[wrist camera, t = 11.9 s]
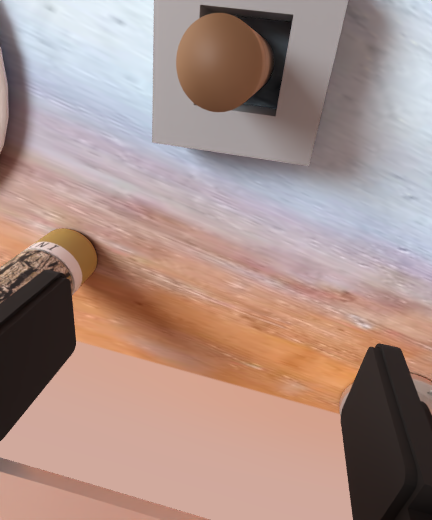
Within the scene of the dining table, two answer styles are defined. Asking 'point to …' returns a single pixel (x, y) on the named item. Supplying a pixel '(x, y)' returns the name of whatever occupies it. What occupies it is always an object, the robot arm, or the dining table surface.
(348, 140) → the dining table surface
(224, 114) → the socket
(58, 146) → the dining table surface
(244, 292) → the dining table surface
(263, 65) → the peg
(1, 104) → the plated food
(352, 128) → the dining table surface
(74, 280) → the paper tube
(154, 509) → the robot arm
